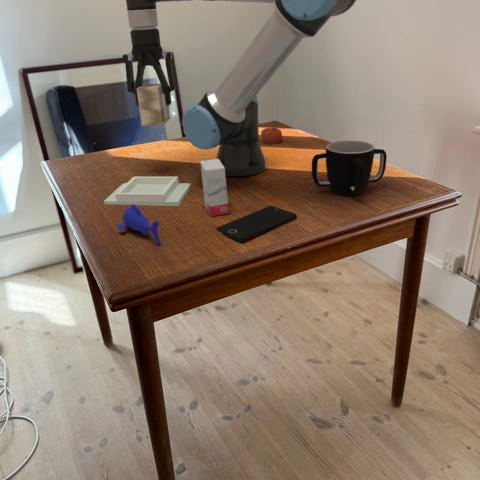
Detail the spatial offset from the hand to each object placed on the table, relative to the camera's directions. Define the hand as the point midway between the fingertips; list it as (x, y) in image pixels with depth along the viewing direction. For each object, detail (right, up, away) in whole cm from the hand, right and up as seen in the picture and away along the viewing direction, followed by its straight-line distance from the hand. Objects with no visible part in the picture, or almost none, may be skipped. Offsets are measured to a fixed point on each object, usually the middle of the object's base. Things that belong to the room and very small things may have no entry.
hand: (155, 116), depth 136 cm
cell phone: (+28, -32, -25) cm, 49 cm away
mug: (+53, -22, -9) cm, 58 cm away
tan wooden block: (0, -1, +1) cm, 1 cm away
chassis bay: (-1, -23, -6) cm, 24 cm away
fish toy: (+2, -34, -28) cm, 44 cm away
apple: (+35, -3, +33) cm, 48 cm away
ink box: (+18, -28, -16) cm, 37 cm away
